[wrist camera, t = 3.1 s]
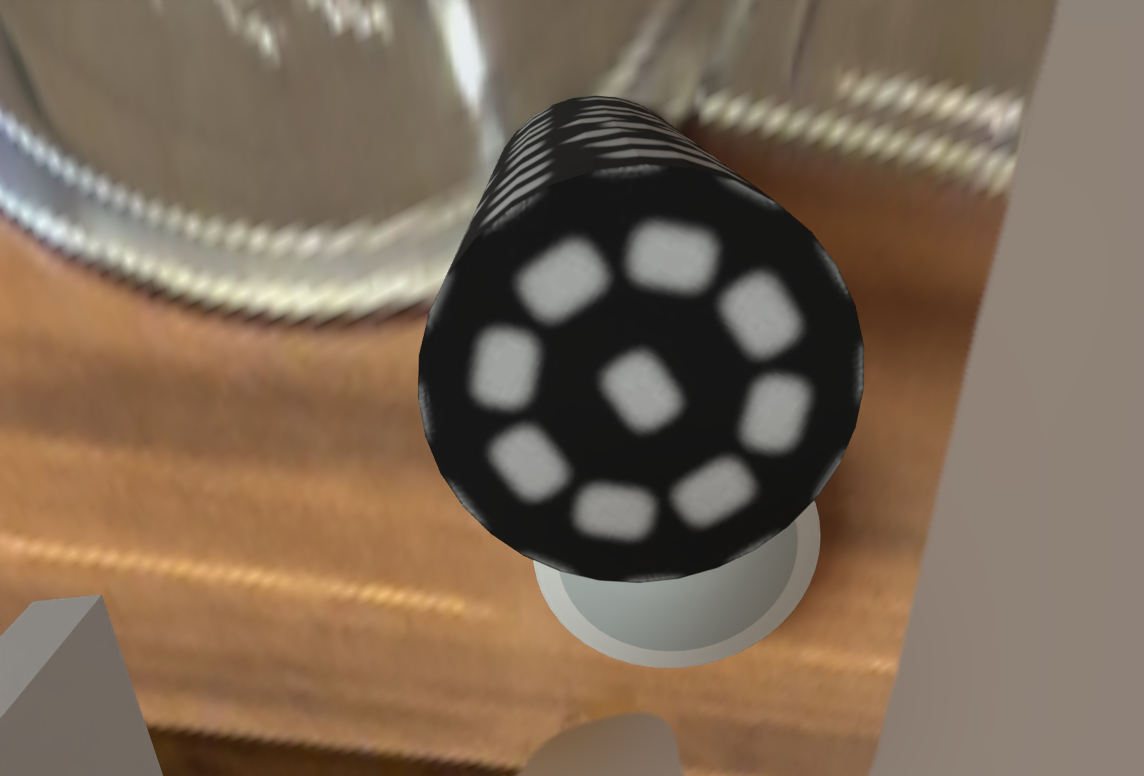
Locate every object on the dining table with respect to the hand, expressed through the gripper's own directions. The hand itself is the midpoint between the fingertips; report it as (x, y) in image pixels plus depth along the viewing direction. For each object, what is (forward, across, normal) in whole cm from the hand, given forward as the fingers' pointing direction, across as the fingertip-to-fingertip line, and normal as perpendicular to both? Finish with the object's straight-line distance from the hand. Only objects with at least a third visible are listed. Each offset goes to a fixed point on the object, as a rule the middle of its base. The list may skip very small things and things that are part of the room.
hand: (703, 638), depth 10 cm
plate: (+27, +2, -14) cm, 31 cm away
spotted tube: (+27, 0, 0) cm, 27 cm away
